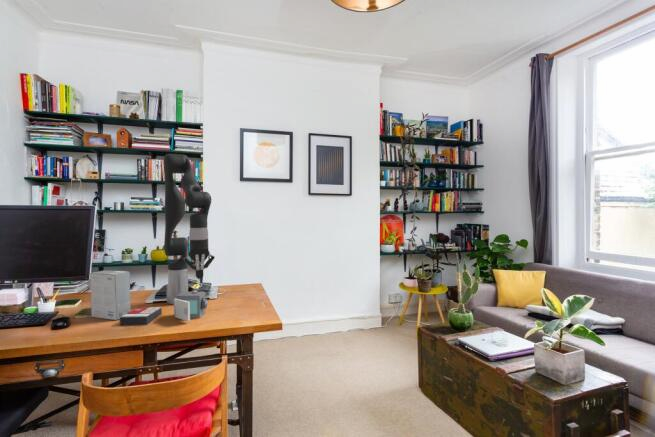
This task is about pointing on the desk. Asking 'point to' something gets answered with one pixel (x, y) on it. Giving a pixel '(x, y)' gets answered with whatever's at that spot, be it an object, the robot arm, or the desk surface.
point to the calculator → (140, 316)
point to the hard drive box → (110, 294)
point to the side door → (182, 309)
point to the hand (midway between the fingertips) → (199, 278)
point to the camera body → (193, 303)
